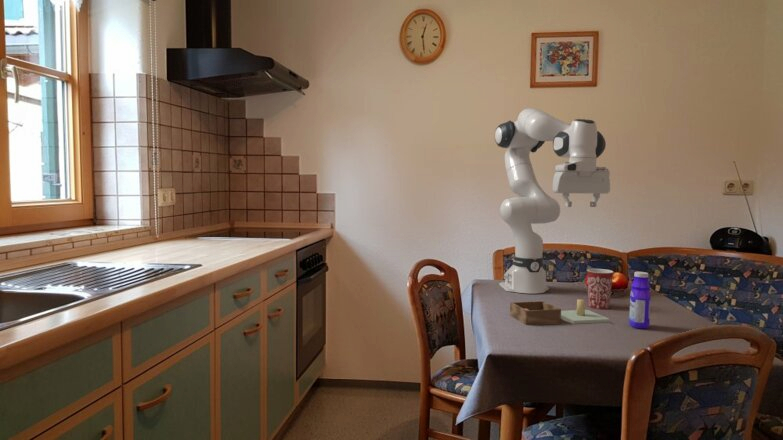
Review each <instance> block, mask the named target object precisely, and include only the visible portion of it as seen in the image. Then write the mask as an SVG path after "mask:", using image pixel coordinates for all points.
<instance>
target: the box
mask: <svg viewBox="0 0 783 440" xmlns="http://www.w3.org/2000/svg"><path fill="white" fill-rule="evenodd" d="M509 304H510V305H509V306H510V307H509V316H511V318H513V319H515V320H517V321H519V322H520V323H522V324H523V325H526V326H529V325H530V326H533V325H555V324H561V322H562V321H561V320H562V319H561V311H562V309H561V308H558V307H557V306H555V305H552V304H550V303H548V302H546V301H541V300H540V301H517V302H516V301H515V302H512V301H511V302H510V303H509ZM525 308H526V309H529V310H526V309H525Z"/></svg>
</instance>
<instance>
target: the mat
mask: <svg viewBox="0 0 783 440" xmlns="http://www.w3.org/2000/svg"><path fill="white" fill-rule="evenodd" d="M561 320H562V321H564V322H566V323H569V324H571V325H574V324H573V323H570V322H568V321H566V320H564V319H562V318H561ZM588 324H593V323H580V324H579V325H588ZM600 324H610V325H611V324H613V323H612V321H610V322H601V323H600Z"/></svg>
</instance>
